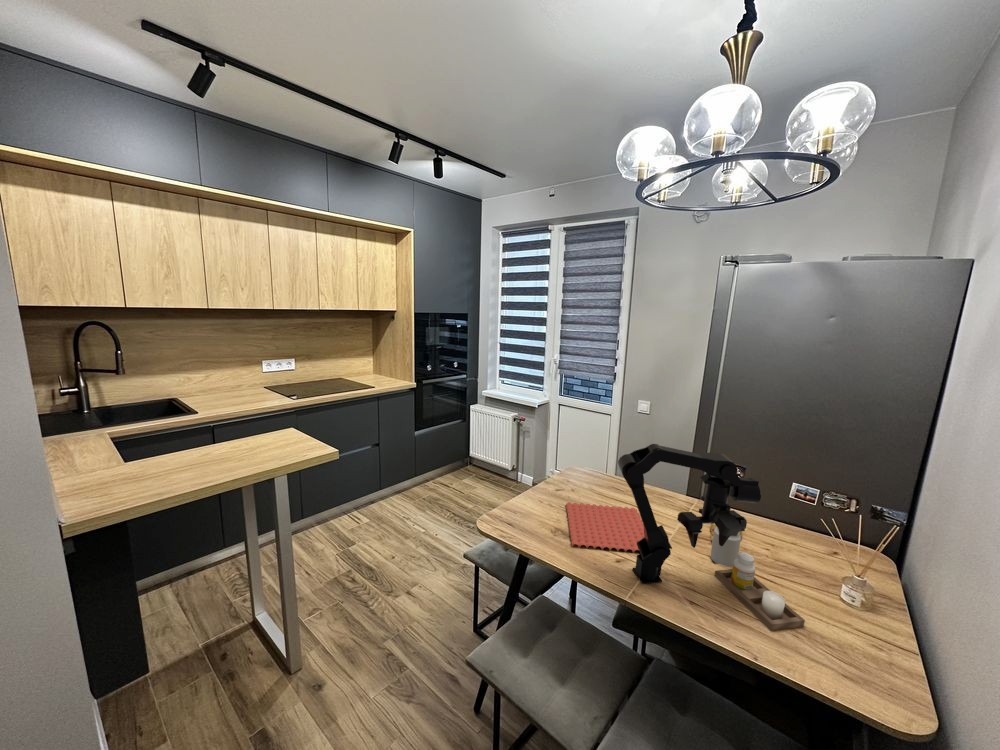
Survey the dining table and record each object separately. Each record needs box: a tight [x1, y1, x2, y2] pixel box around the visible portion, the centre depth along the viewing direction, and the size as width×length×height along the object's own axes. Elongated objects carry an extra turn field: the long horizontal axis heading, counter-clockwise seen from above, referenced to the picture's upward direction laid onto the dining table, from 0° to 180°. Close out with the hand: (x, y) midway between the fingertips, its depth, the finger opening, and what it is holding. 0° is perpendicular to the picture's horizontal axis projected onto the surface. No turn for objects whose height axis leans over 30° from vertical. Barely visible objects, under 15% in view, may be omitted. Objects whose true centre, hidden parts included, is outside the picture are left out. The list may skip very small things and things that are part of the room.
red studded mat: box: [565, 501, 644, 554], centre depth 142 cm, size 28×28×2 cm
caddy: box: [714, 568, 806, 632], centre depth 108 cm, size 10×20×3 cm, turn 10°
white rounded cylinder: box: [760, 590, 786, 620], centre depth 102 cm, size 5×5×5 cm
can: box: [709, 527, 742, 567], centre depth 124 cm, size 8×8×12 cm
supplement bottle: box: [731, 551, 756, 591], centre depth 112 cm, size 5×5×10 cm
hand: (707, 546), depth 113 cm, fingers open, 9 cm apart
